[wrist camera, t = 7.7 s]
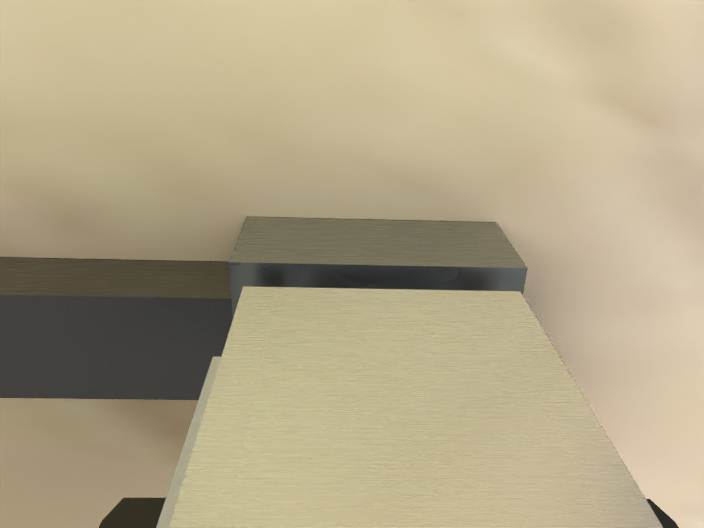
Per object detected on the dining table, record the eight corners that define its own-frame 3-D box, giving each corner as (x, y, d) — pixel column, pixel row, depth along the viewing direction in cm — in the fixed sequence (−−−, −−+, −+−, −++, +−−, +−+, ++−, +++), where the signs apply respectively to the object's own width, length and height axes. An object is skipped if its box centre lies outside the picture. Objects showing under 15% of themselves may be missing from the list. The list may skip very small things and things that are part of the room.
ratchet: (-66, 388, 19) (-321, 645, 11) (-125, 207, 16) (-502, 390, 9) (470, 394, 19) (552, 641, 12) (496, 222, 17) (619, 403, 9)
